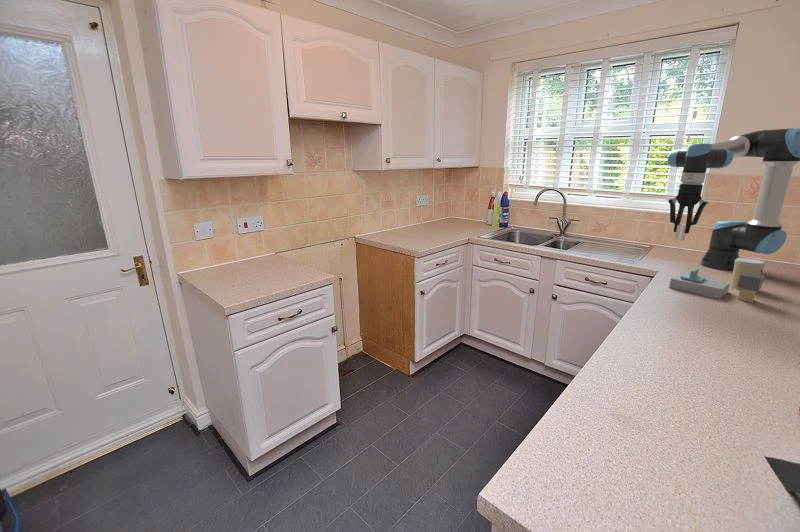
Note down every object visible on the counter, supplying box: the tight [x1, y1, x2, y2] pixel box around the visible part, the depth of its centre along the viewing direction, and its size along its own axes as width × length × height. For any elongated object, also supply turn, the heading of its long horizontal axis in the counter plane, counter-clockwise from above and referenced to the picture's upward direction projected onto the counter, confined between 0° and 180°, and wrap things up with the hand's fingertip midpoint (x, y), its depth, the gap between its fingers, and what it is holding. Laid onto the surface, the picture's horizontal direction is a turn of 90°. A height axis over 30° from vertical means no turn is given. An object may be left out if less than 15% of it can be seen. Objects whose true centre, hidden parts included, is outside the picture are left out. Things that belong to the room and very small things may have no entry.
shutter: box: [680, 267, 707, 282], centre depth 156 cm, size 7×7×4 cm
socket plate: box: [668, 272, 731, 300], centre depth 155 cm, size 12×17×4 cm
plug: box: [737, 272, 765, 303], centre depth 143 cm, size 6×6×10 cm
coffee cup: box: [730, 257, 766, 291], centre depth 156 cm, size 9×9×12 cm
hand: (679, 240), depth 158 cm, fingers closed
